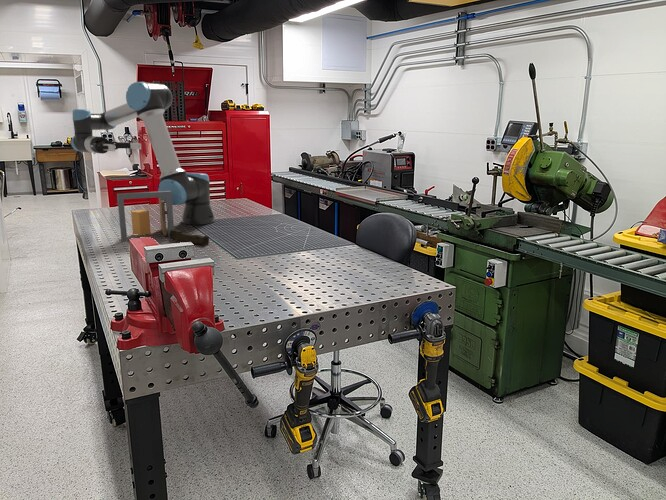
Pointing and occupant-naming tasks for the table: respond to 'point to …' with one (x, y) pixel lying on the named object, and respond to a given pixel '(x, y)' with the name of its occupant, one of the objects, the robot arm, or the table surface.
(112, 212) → the table surface
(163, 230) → the door
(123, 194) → the door frame
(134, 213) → the block
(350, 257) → the table surface
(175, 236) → the hand tool
